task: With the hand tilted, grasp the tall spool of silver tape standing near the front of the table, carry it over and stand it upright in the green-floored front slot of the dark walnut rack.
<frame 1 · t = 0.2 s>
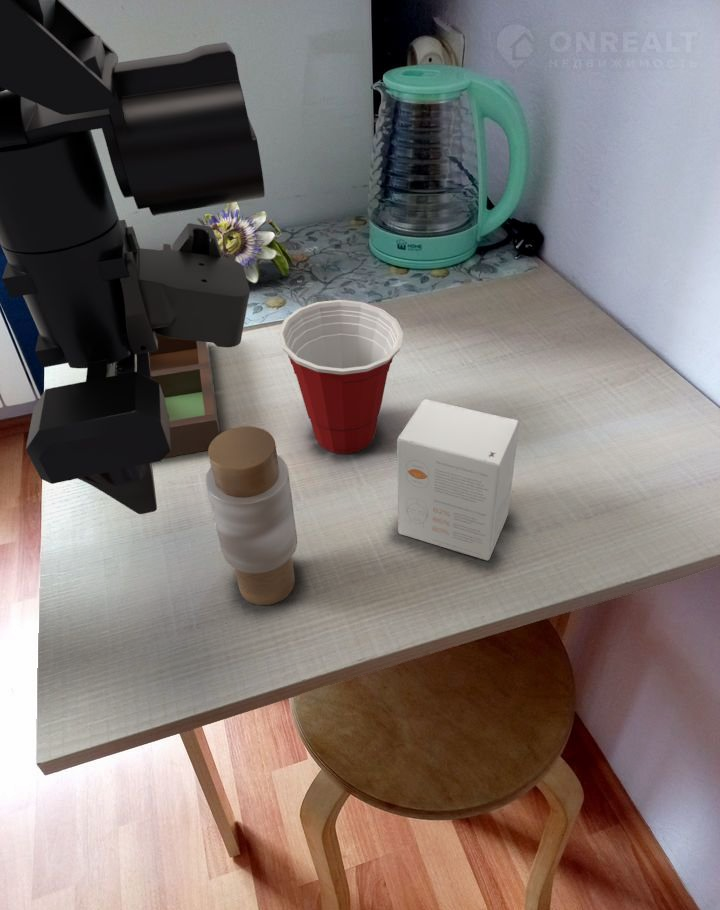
hand: (147, 461, 45), 14 cm above the table, tool pointing down, fingers open, 9 cm apart
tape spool: (267, 582, 55), on the table
rack: (166, 400, 74), on the table
plastic cup: (347, 437, 69), on the table
small box: (452, 527, 59), on the table
passion flower: (244, 277, 95), on the table
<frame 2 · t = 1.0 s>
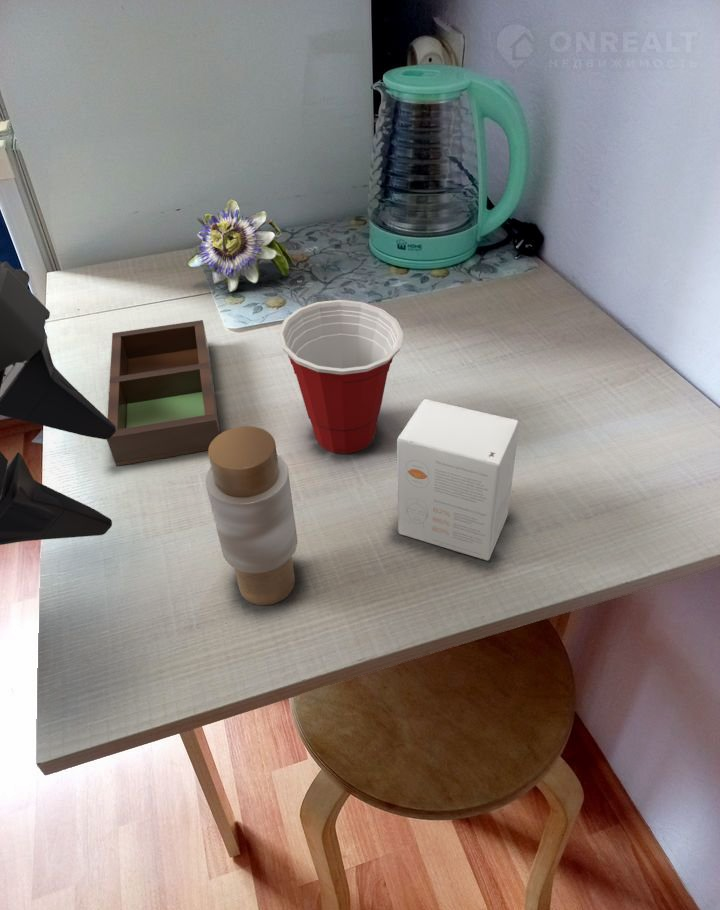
hand: (110, 477, 45), 13 cm above the table, tool tilted 45°, fingers open, 9 cm apart
nothing on the table moved.
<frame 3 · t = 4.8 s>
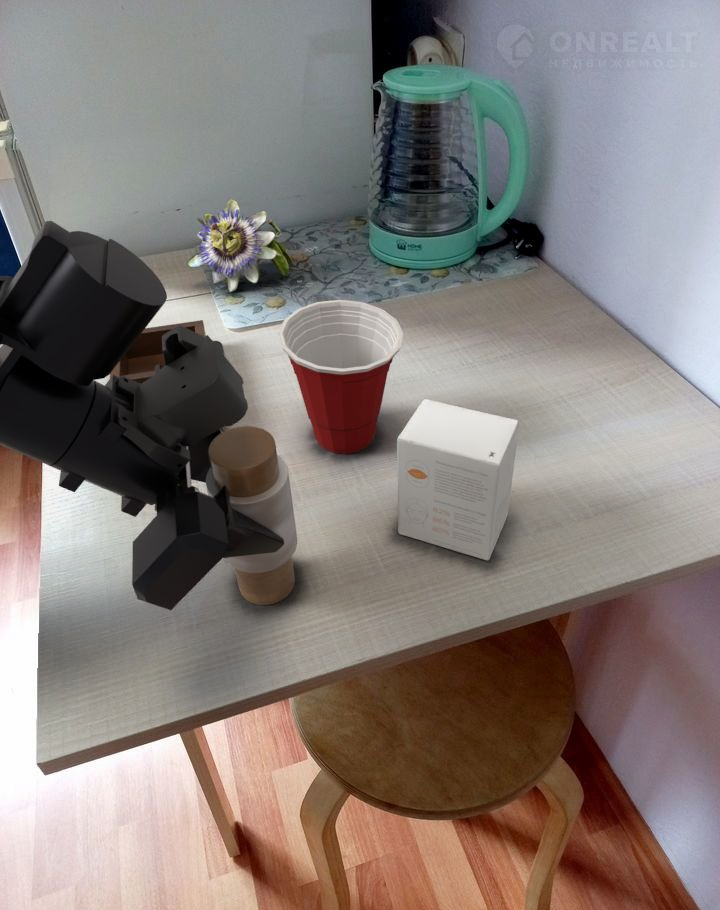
hand: (274, 516, 51), 7 cm above the table, tool tilted 45°, fingers closed on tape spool, 5 cm apart
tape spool: (267, 582, 55), on the table, touching gripper
everything else where it was.
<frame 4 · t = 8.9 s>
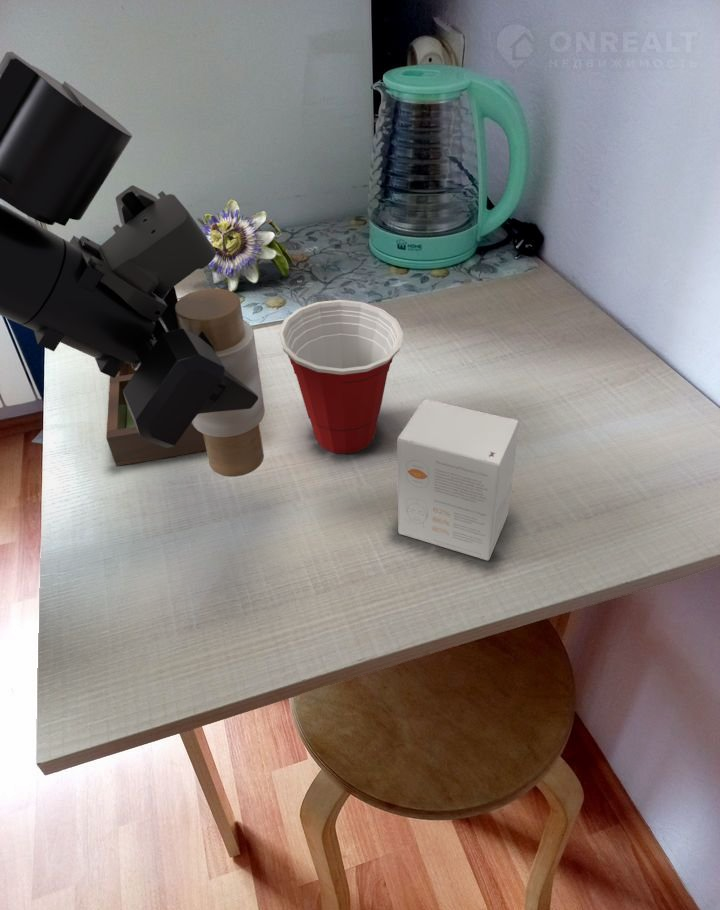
hand: (240, 381, 53), 13 cm above the table, tool tilted 45°, fingers closed on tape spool, 5 cm apart
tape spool: (236, 458, 57), point 6 cm above the table, touching gripper
everything else where it was.
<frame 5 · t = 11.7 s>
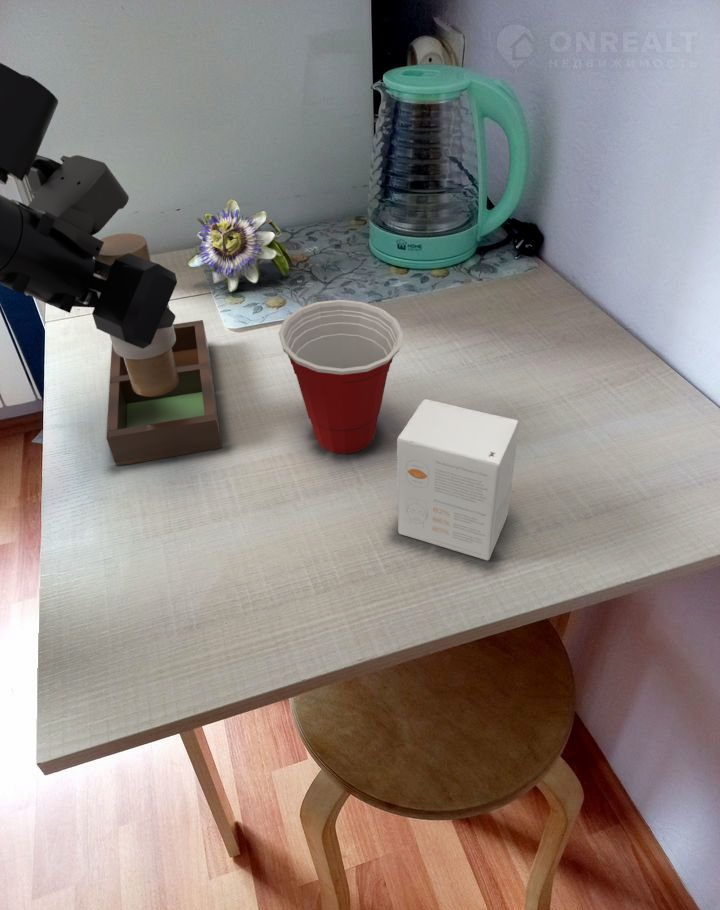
hand: (150, 311, 64), 12 cm above the table, tool tilted 45°, fingers closed on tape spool, 5 cm apart
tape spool: (155, 383, 68), point 5 cm above the table, touching gripper
everything else where it was.
when the fingers open (8 cm above the table, at t = 13.5 s): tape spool stays where it is, resting on rack.
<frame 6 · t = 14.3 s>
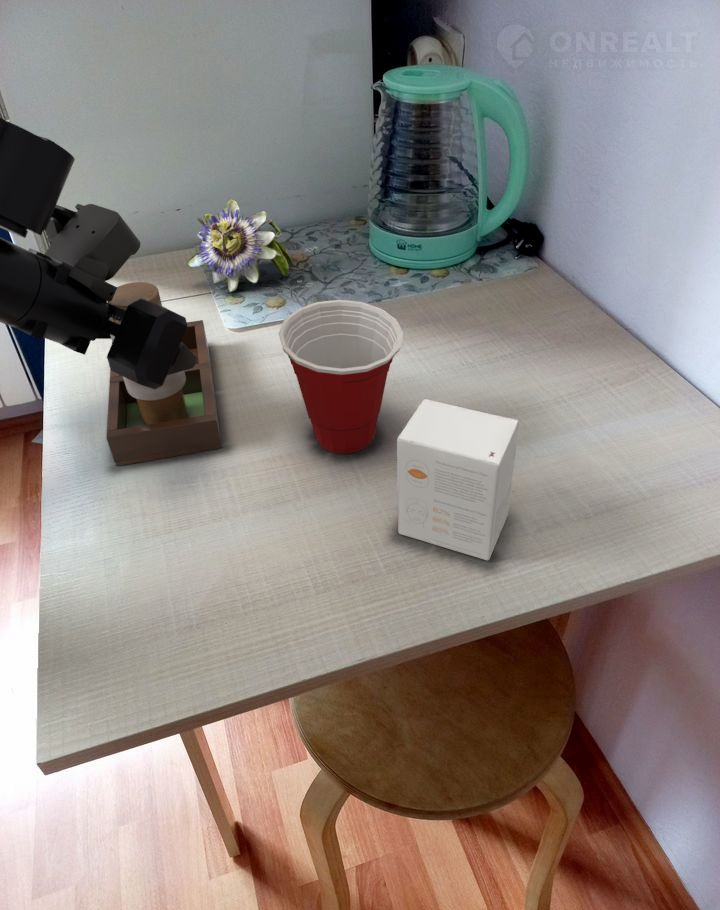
hand: (160, 347, 66), 9 cm above the table, tool tilted 45°, fingers open, 9 cm apart
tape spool: (166, 420, 71), point 1 cm above the table, touching rack
everything else where it was.
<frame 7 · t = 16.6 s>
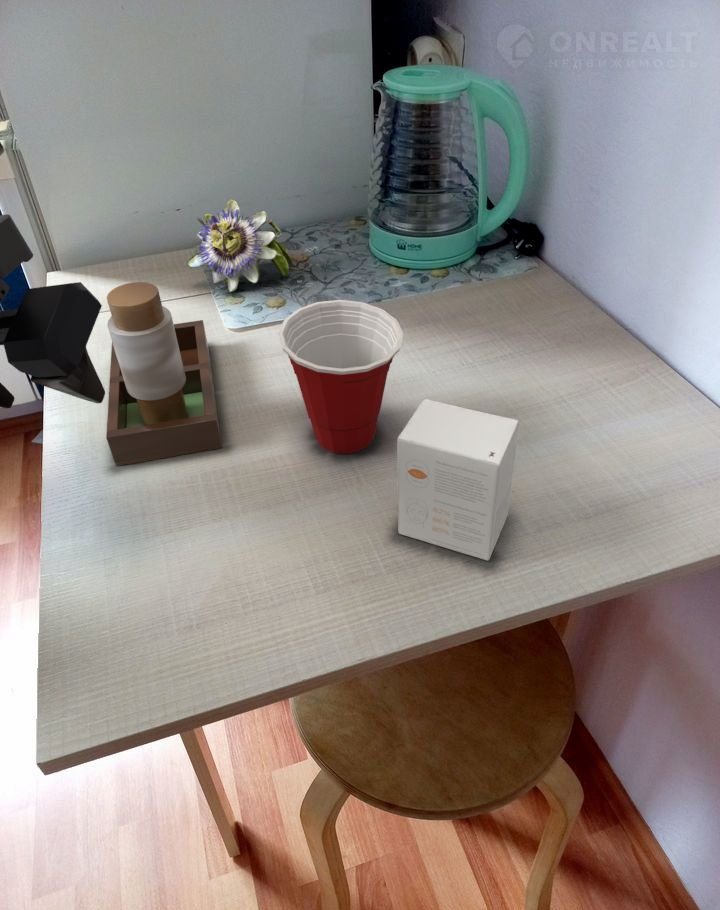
hand: (55, 400, 56), 11 cm above the table, tool tilted 25°, fingers open, 9 cm apart
nothing on the table moved.
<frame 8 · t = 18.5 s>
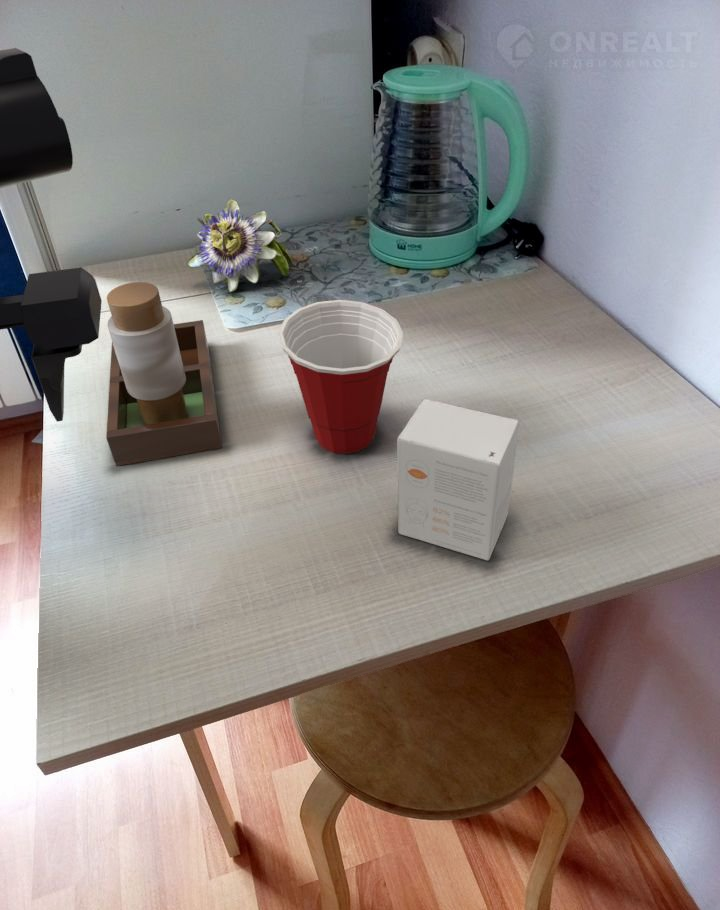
nothing on the table moved.
at the end: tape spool 0.0 cm from the target spot in the rack, point 0.7 cm above the rack's base; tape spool tilted 0°; the gripper is holding nothing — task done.
